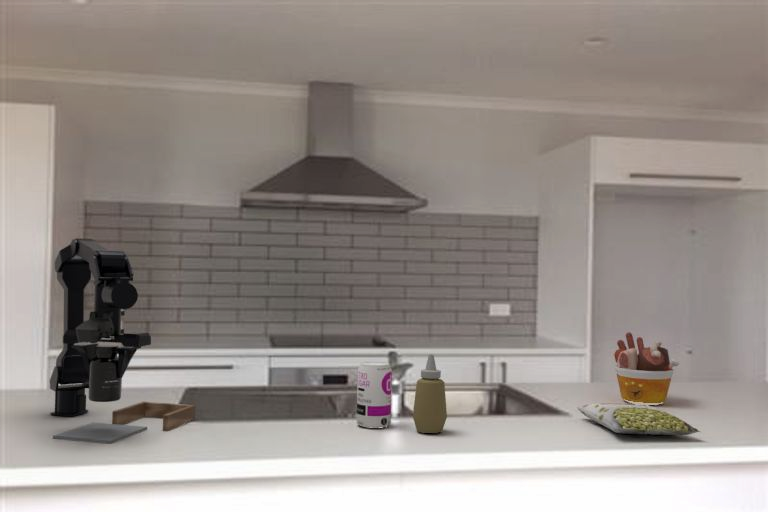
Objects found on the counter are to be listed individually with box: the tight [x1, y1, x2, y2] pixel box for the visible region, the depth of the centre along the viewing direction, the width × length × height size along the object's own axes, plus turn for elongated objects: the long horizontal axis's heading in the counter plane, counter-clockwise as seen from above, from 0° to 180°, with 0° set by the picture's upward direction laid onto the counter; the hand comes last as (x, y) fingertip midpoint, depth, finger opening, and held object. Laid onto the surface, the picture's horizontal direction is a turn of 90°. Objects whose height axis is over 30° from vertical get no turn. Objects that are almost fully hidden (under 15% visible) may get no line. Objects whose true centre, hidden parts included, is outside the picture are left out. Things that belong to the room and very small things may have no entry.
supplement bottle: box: [88, 344, 123, 403], centre depth 163 cm, size 7×7×12 cm
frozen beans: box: [576, 403, 701, 436], centre depth 179 cm, size 21×6×25 cm
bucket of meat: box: [613, 332, 680, 403], centre depth 218 cm, size 20×16×20 cm
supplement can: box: [356, 361, 393, 428], centre depth 177 cm, size 8×8×15 cm
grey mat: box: [52, 421, 148, 444], centre depth 163 cm, size 14×14×1 cm
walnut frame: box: [111, 401, 196, 432], centre depth 175 cm, size 14×13×4 cm
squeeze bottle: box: [412, 354, 448, 434], centre depth 172 cm, size 8×8×18 cm
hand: (105, 376), depth 163 cm, fingers closed on supplement bottle, 7 cm apart
